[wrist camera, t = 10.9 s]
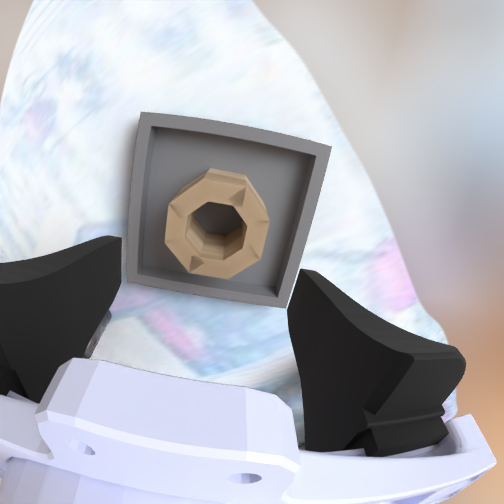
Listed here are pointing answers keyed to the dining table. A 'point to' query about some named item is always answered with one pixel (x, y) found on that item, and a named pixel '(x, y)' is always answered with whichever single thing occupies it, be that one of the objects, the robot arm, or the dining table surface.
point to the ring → (213, 244)
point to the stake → (97, 335)
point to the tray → (221, 215)
